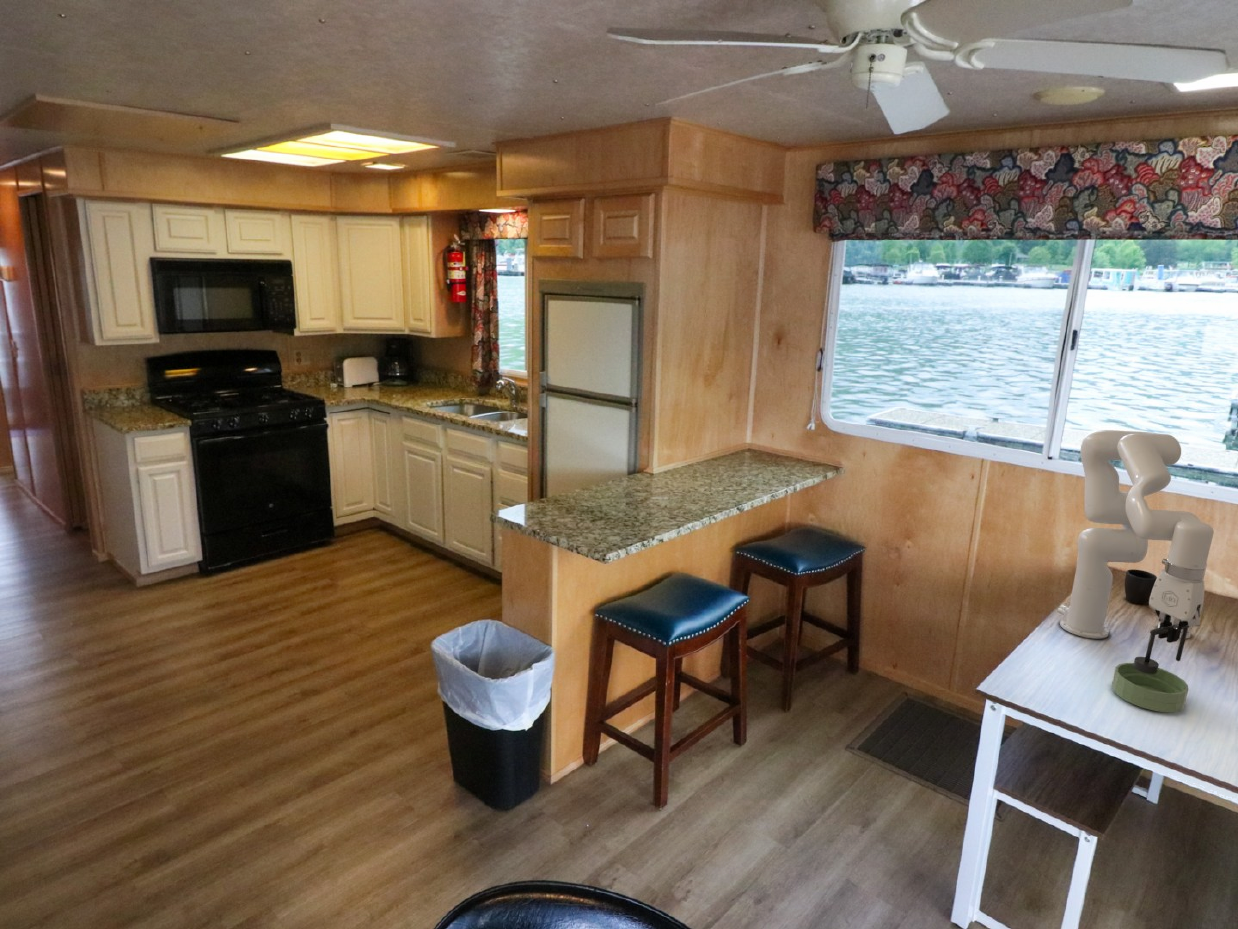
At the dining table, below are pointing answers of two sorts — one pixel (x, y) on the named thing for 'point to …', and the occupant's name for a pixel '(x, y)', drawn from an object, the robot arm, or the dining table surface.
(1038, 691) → the dining table surface
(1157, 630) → the ladle
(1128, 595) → the mug
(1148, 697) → the bowl
